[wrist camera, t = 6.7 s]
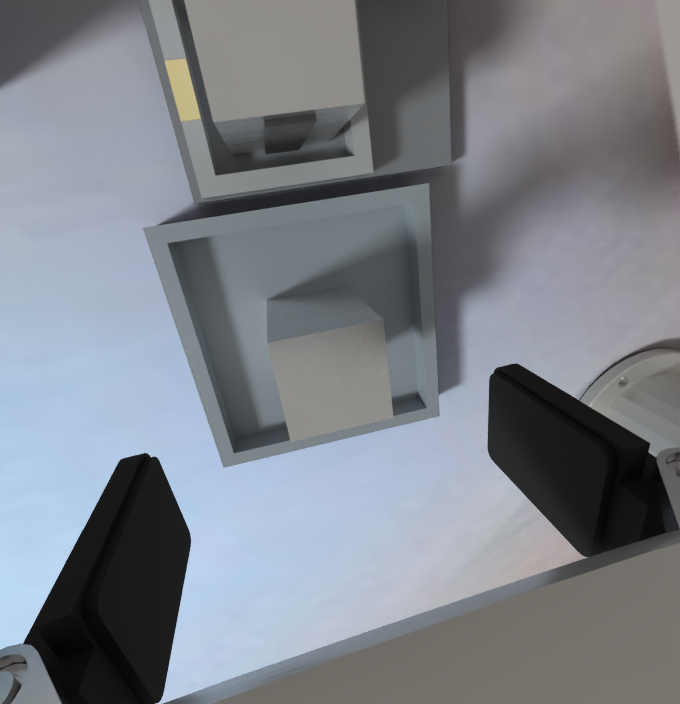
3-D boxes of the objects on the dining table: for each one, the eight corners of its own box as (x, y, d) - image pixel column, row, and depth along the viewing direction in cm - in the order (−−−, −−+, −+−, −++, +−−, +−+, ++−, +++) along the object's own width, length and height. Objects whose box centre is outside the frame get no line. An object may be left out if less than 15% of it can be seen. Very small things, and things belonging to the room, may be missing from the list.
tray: (413, 185, 20) (429, 183, 18) (426, 400, 25) (439, 415, 23) (155, 225, 18) (142, 227, 16) (226, 447, 23) (223, 467, 22)
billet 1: (311, 23, 16) (343, -105, 9) (328, 147, 17) (365, 111, 11) (205, 34, 15) (161, -96, 9) (234, 160, 17) (215, 130, 11)
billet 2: (346, 285, 20) (383, 319, 14) (356, 360, 22) (394, 421, 16) (266, 300, 20) (267, 342, 13) (283, 376, 22) (291, 446, 15)
